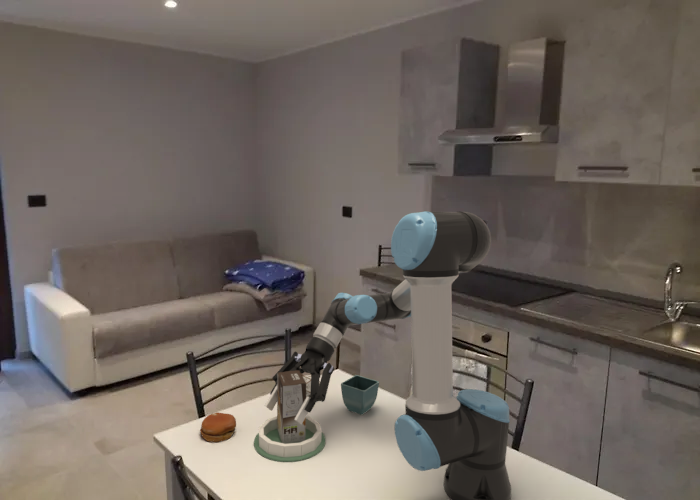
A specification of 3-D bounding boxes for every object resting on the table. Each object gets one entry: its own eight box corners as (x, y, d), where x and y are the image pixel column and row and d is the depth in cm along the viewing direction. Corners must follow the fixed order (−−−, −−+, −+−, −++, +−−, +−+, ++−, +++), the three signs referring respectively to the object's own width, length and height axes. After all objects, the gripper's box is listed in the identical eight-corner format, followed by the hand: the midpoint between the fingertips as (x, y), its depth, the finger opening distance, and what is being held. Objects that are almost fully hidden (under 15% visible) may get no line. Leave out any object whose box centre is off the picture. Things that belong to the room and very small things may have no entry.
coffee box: (306, 441, 131) (307, 383, 128) (282, 444, 129) (282, 385, 126) (298, 424, 139) (299, 369, 137) (275, 427, 137) (276, 371, 135)
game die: (313, 411, 160) (318, 395, 153) (289, 399, 161) (293, 383, 154) (324, 388, 166) (330, 373, 159) (301, 377, 167) (306, 361, 160)
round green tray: (339, 444, 133) (340, 432, 133) (279, 471, 121) (280, 457, 120) (298, 417, 147) (298, 406, 147) (240, 438, 135) (240, 426, 134)
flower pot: (339, 411, 152) (339, 383, 151) (355, 401, 160) (356, 374, 158) (363, 420, 147) (364, 391, 146) (378, 409, 155) (379, 381, 153)
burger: (215, 446, 131) (215, 430, 130) (193, 435, 136) (193, 419, 136) (244, 432, 139) (244, 416, 138) (222, 421, 144) (221, 406, 144)
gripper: (361, 359, 136) (321, 435, 126) (300, 340, 150) (260, 407, 140) (350, 345, 131) (307, 423, 121) (288, 327, 145) (245, 395, 135)
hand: (282, 415), depth 131 cm, fingers closed on coffee box, 10 cm apart
